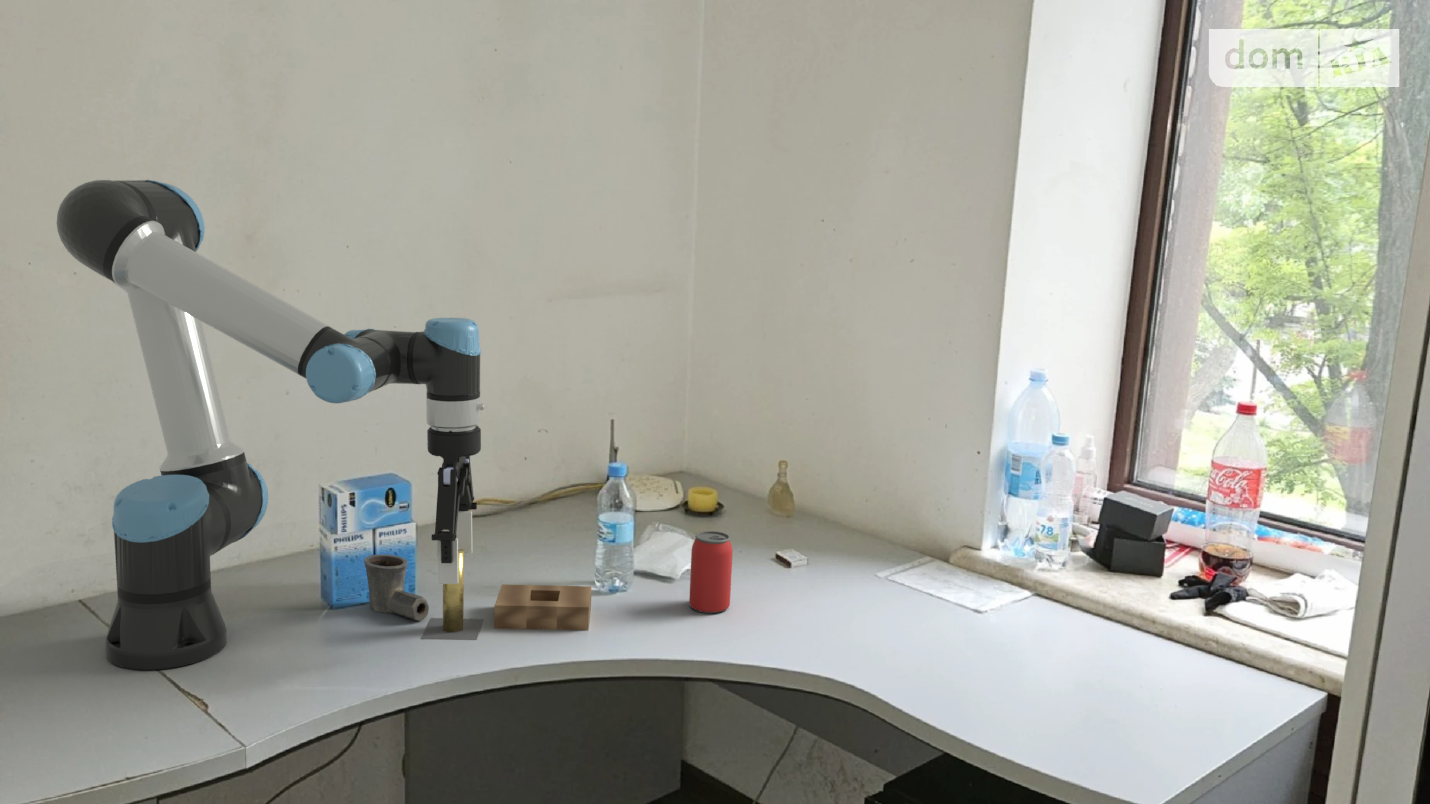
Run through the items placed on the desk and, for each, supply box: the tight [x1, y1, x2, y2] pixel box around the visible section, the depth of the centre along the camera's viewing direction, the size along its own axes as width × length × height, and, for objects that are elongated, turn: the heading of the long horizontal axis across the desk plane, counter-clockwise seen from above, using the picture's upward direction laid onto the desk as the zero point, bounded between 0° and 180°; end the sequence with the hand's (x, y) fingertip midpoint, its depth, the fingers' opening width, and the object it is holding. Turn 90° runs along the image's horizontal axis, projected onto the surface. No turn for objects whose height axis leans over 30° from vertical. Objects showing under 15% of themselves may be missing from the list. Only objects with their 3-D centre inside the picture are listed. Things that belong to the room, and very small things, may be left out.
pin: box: [442, 549, 465, 633], centre depth 167 cm, size 3×3×12 cm
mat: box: [420, 617, 485, 641], centre depth 168 cm, size 8×8×1 cm
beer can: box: [688, 530, 734, 614], centre depth 181 cm, size 7×7×12 cm
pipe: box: [363, 554, 430, 621], centre depth 173 cm, size 6×13×8 cm, turn 53°
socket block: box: [493, 584, 592, 631], centre depth 173 cm, size 14×9×4 cm, turn 94°
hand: (456, 567), depth 166 cm, fingers open, 13 cm apart
